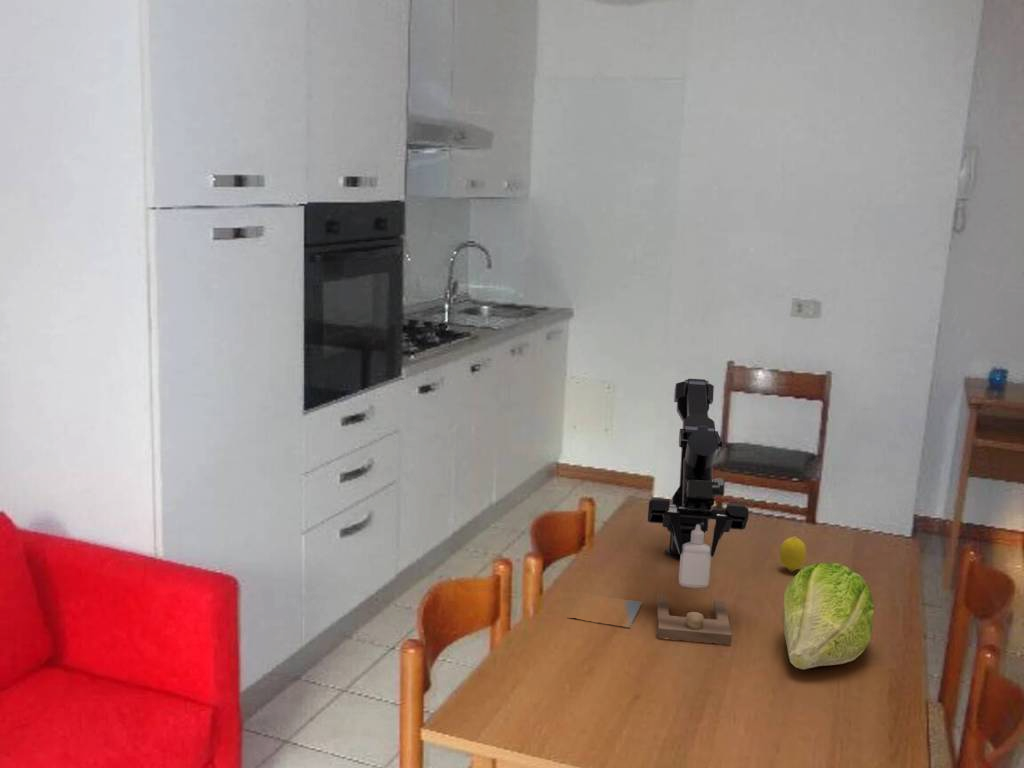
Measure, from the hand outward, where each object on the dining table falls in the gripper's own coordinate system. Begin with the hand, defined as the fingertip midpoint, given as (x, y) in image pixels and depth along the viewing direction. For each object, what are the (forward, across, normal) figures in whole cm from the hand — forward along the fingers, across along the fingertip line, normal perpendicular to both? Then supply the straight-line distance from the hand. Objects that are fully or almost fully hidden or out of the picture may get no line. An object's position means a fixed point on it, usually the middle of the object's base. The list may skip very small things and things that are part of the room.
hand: (696, 554), depth 186 cm
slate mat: (+9, -16, +10) cm, 21 cm away
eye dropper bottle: (+4, 0, +6) cm, 7 cm away
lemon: (-12, +23, +31) cm, 40 cm away
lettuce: (+16, +22, +3) cm, 27 cm away
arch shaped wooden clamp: (+11, 0, +8) cm, 13 cm away
